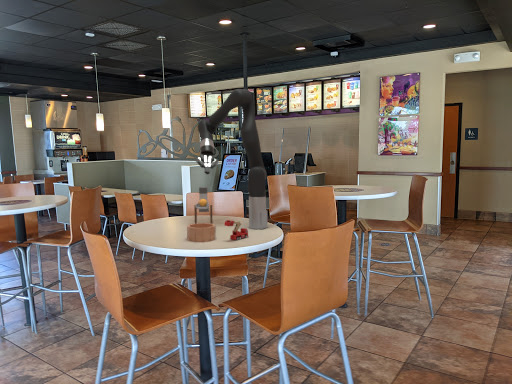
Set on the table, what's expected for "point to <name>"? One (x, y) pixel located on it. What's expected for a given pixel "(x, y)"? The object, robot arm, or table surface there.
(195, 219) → the catapult stand
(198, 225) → the terracotta shallow bowl
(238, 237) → the toy fire truck
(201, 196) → the grey angular piece
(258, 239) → the table surface
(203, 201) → the ball
